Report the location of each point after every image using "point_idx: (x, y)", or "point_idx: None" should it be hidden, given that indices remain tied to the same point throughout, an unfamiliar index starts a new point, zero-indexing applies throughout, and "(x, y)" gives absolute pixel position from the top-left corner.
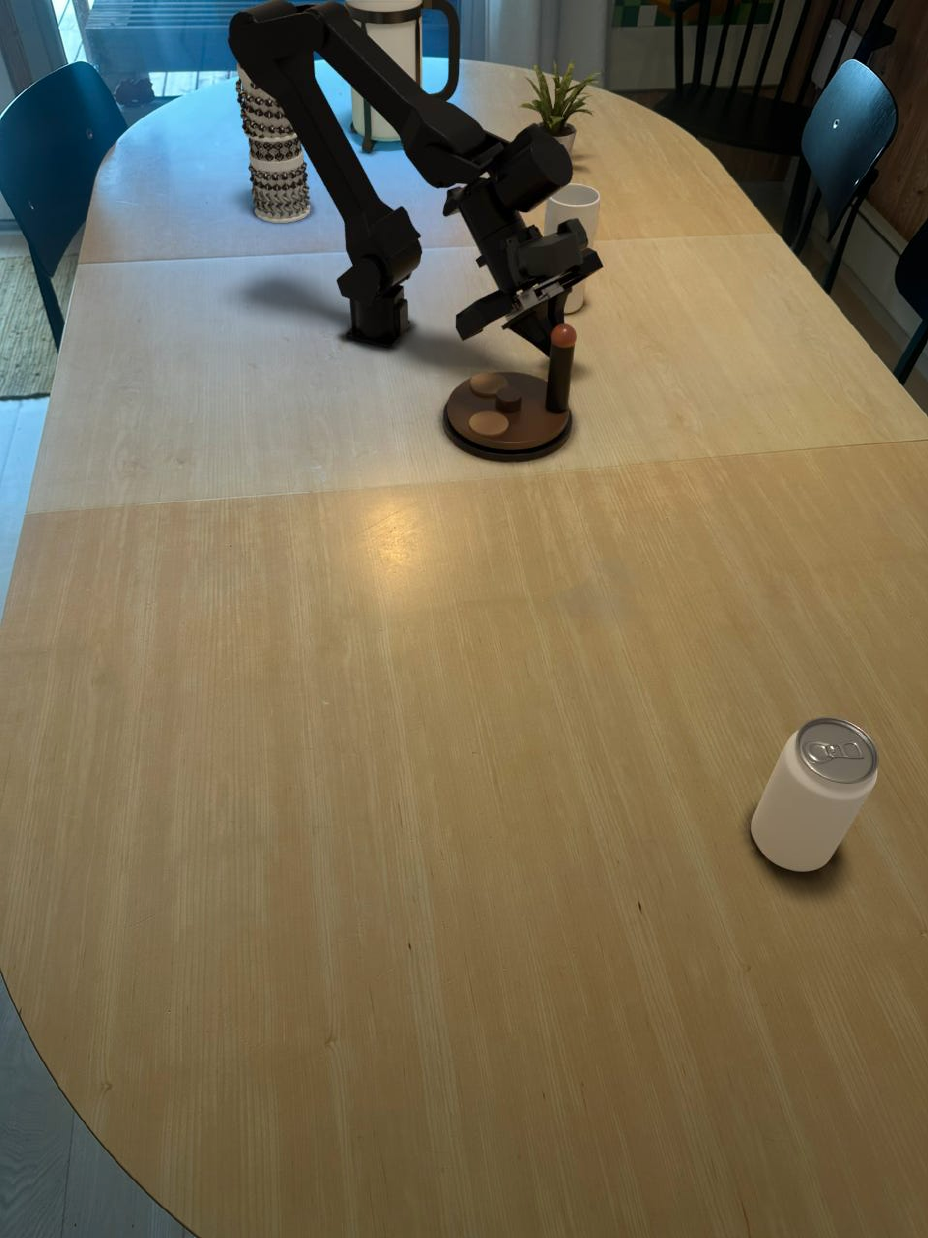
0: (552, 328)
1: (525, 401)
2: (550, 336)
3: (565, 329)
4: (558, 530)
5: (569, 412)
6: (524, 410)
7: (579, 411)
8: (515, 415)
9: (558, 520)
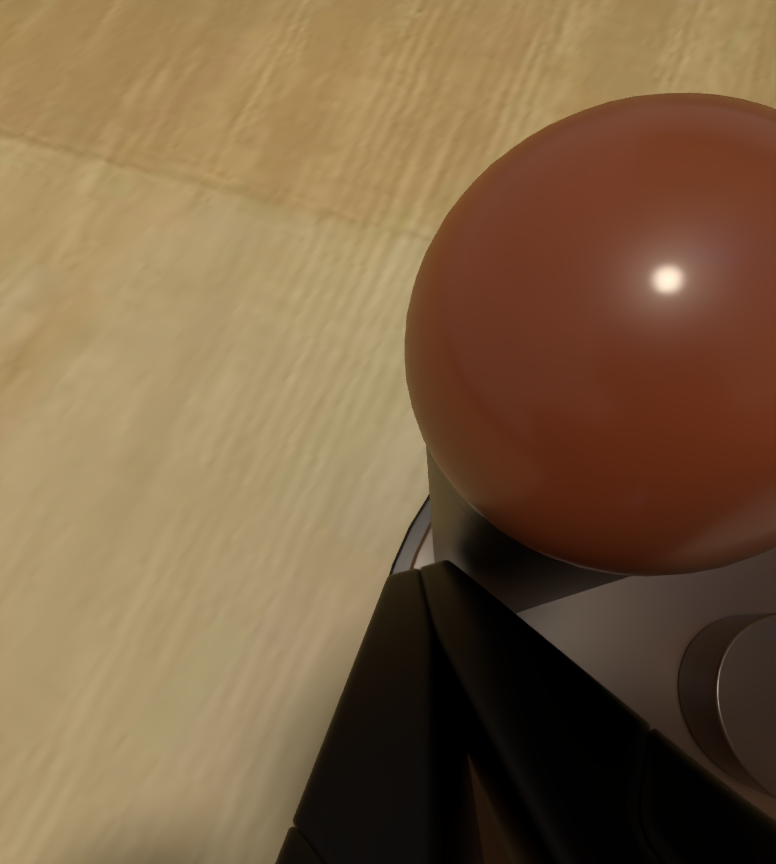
0: (569, 853)
1: (638, 686)
2: (626, 737)
3: (759, 110)
4: (766, 65)
5: (408, 553)
6: (682, 607)
7: (327, 591)
8: (754, 588)
9: (746, 98)
